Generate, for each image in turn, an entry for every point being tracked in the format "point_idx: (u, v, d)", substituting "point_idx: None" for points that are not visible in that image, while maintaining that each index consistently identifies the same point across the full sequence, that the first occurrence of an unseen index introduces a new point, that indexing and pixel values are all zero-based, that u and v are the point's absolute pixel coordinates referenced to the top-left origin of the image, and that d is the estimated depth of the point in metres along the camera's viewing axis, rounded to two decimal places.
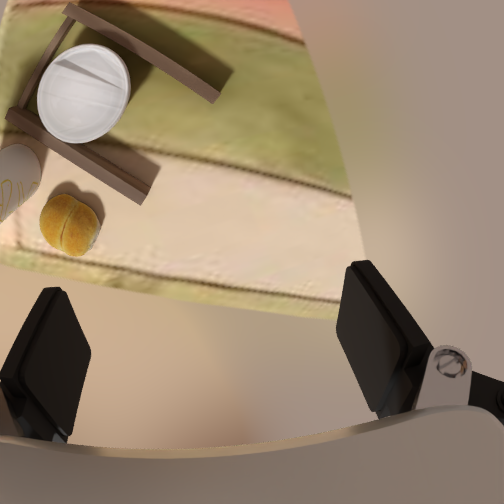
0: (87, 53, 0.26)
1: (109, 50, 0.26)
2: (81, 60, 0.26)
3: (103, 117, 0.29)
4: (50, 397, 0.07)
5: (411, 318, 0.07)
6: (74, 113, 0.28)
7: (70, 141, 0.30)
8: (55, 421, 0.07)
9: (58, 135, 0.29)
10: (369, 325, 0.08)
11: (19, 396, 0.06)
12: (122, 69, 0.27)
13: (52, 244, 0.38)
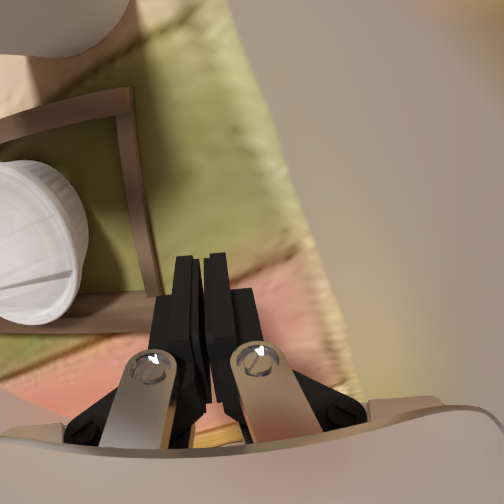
0: (50, 301, 0.18)
1: (30, 324, 0.18)
2: (47, 289, 0.18)
3: None
4: (205, 361, 0.08)
5: (230, 309, 0.08)
6: None
7: None
8: (205, 387, 0.08)
9: None
10: None
11: (182, 361, 0.07)
12: None
13: None
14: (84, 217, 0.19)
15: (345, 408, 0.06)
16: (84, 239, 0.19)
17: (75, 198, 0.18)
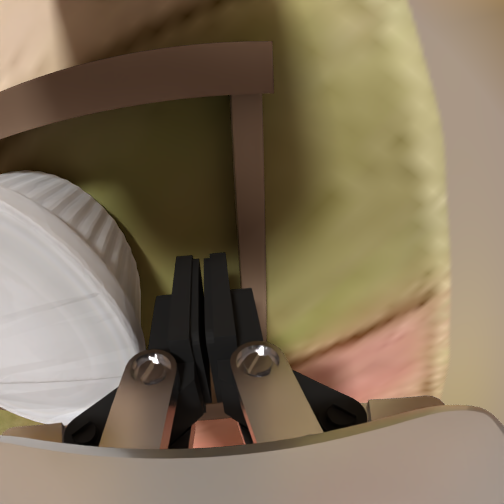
0: (88, 400, 0.11)
1: None
2: (83, 389, 0.11)
3: None
4: (205, 361, 0.08)
5: (230, 309, 0.08)
6: None
7: None
8: (206, 387, 0.08)
9: None
10: None
11: (183, 361, 0.07)
12: (8, 408, 0.10)
13: None
14: (136, 270, 0.12)
15: (345, 408, 0.06)
16: (139, 309, 0.12)
17: (120, 240, 0.11)
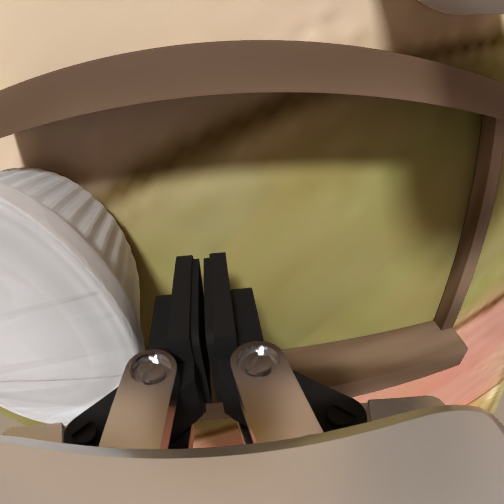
0: (86, 399, 0.11)
1: None
2: (81, 387, 0.11)
3: None
4: (205, 361, 0.08)
5: (230, 310, 0.08)
6: None
7: None
8: (205, 387, 0.08)
9: None
10: None
11: (182, 361, 0.07)
12: (5, 407, 0.10)
13: None
14: (135, 269, 0.12)
15: (345, 408, 0.06)
16: (139, 308, 0.12)
17: (120, 239, 0.11)
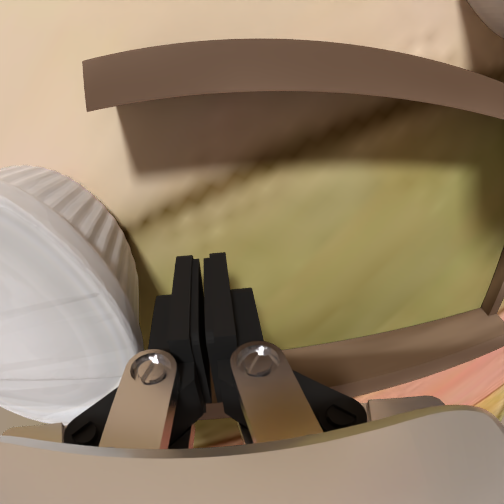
0: (83, 399, 0.11)
1: (52, 423, 0.11)
2: (78, 387, 0.10)
3: None
4: (205, 361, 0.08)
5: (230, 310, 0.08)
6: None
7: None
8: (206, 387, 0.08)
9: None
10: None
11: (183, 361, 0.07)
12: (2, 405, 0.10)
13: None
14: (135, 270, 0.12)
15: (345, 408, 0.06)
16: (137, 309, 0.12)
17: (120, 240, 0.11)
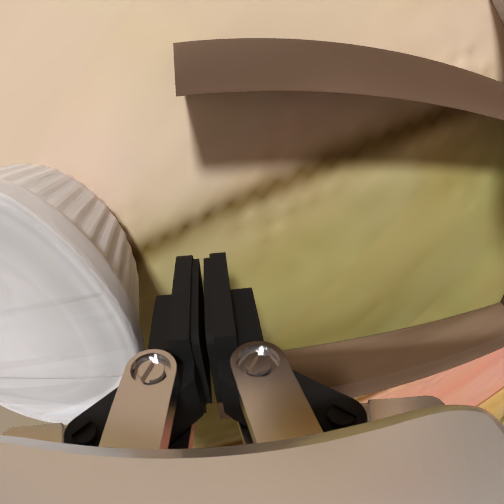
0: (82, 398, 0.11)
1: (50, 421, 0.11)
2: (78, 386, 0.11)
3: None
4: (205, 361, 0.08)
5: (230, 309, 0.08)
6: None
7: None
8: (206, 387, 0.08)
9: None
10: None
11: (183, 361, 0.07)
12: (0, 403, 0.10)
13: None
14: (136, 270, 0.12)
15: (345, 408, 0.06)
16: None
17: (122, 240, 0.11)
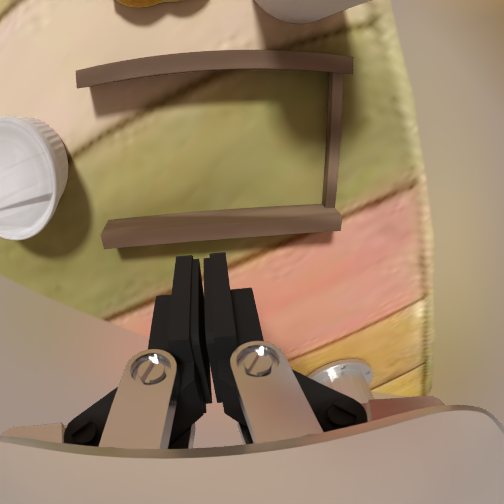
0: (34, 220, 0.24)
1: (16, 239, 0.24)
2: (32, 210, 0.23)
3: None
4: (205, 361, 0.08)
5: (230, 309, 0.08)
6: None
7: None
8: (206, 387, 0.08)
9: None
10: None
11: (183, 361, 0.07)
12: None
13: None
14: (66, 160, 0.24)
15: (345, 408, 0.06)
16: (64, 175, 0.24)
17: (61, 146, 0.24)
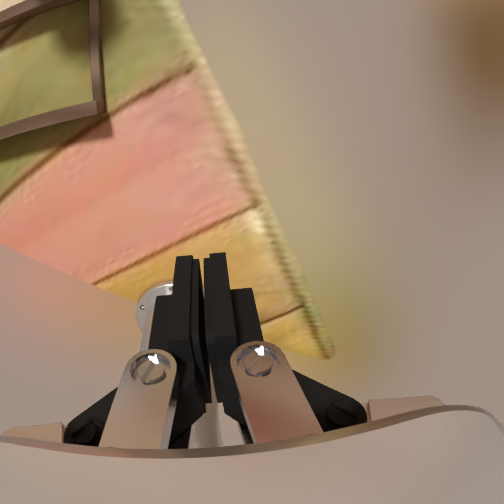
0: None
1: None
2: None
3: None
4: (205, 361, 0.08)
5: (230, 310, 0.08)
6: None
7: None
8: (206, 387, 0.08)
9: None
10: None
11: (183, 361, 0.07)
12: None
13: None
14: None
15: (345, 408, 0.06)
16: None
17: None
